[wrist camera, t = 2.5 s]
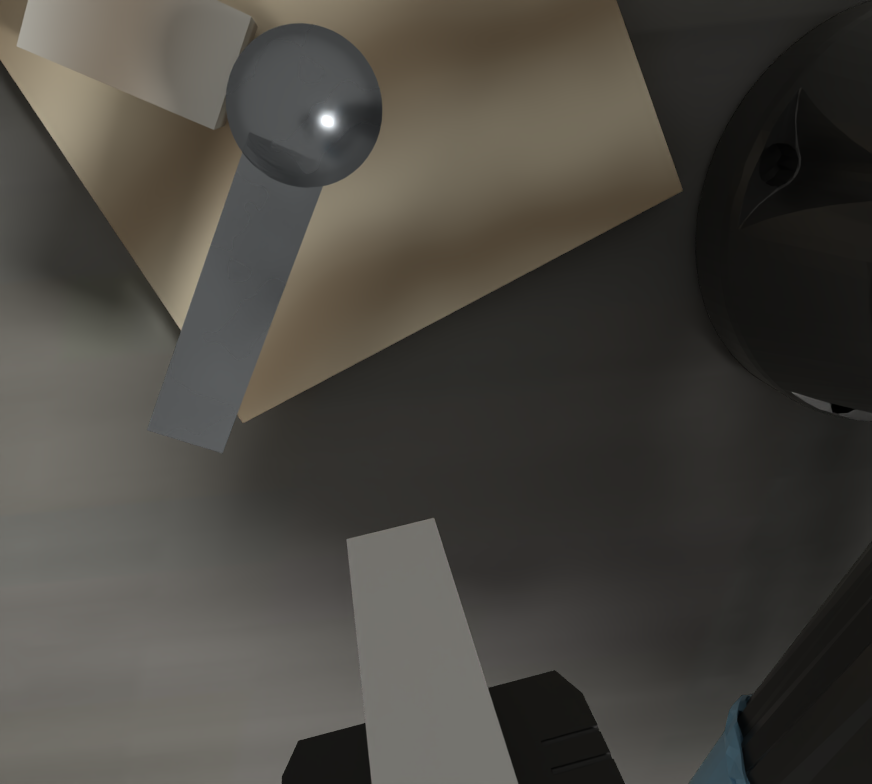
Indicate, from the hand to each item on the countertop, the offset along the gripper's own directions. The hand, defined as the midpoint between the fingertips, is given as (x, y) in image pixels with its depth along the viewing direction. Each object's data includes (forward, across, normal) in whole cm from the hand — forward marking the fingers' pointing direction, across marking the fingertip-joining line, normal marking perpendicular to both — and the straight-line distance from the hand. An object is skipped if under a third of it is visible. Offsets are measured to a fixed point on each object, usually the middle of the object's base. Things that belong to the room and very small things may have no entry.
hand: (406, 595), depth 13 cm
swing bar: (+11, +2, -5) cm, 12 cm away
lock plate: (+16, -2, -8) cm, 18 cm away
